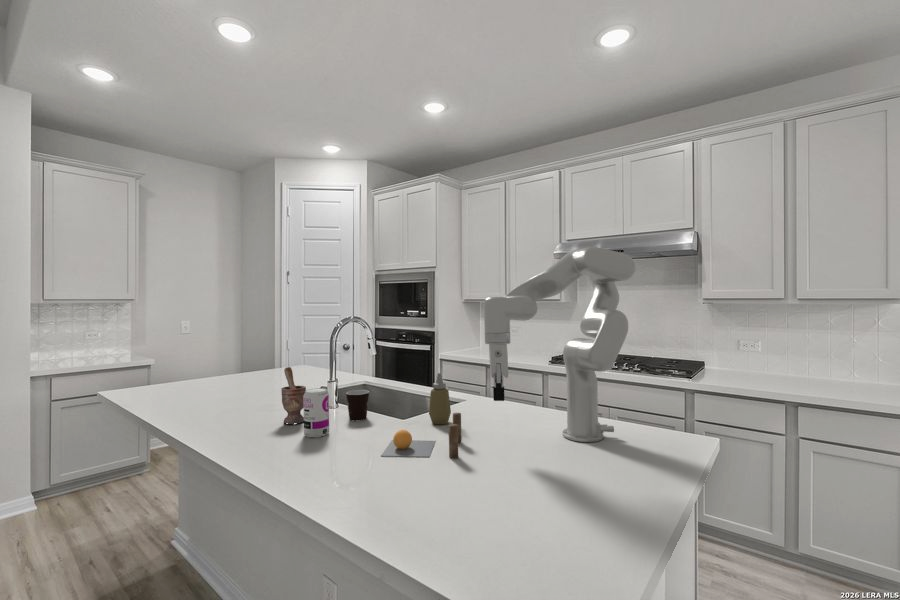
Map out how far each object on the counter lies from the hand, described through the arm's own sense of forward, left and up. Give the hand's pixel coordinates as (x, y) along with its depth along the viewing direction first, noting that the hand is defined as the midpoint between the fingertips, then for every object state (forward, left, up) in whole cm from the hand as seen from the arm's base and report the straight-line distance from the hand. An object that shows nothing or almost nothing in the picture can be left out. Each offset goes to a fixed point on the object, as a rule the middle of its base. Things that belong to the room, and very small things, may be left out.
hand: (499, 400), depth 129 cm
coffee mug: (+53, -34, -15) cm, 65 cm away
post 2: (+13, +6, -15) cm, 21 cm away
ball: (+29, 0, -12) cm, 31 cm away
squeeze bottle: (+21, -28, -15) cm, 38 cm away
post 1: (+13, -6, -15) cm, 21 cm away
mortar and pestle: (+77, -27, -15) cm, 83 cm away
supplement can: (+61, -12, -15) cm, 64 cm away
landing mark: (+27, 0, -15) cm, 31 cm away
